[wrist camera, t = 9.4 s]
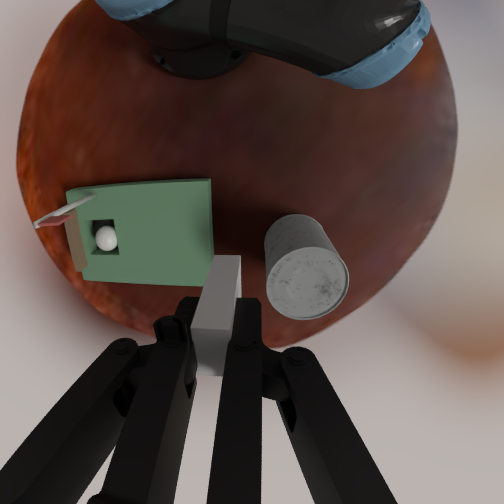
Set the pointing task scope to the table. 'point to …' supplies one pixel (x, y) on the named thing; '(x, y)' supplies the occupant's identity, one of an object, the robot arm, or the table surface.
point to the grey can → (303, 269)
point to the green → (141, 231)
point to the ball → (106, 238)
